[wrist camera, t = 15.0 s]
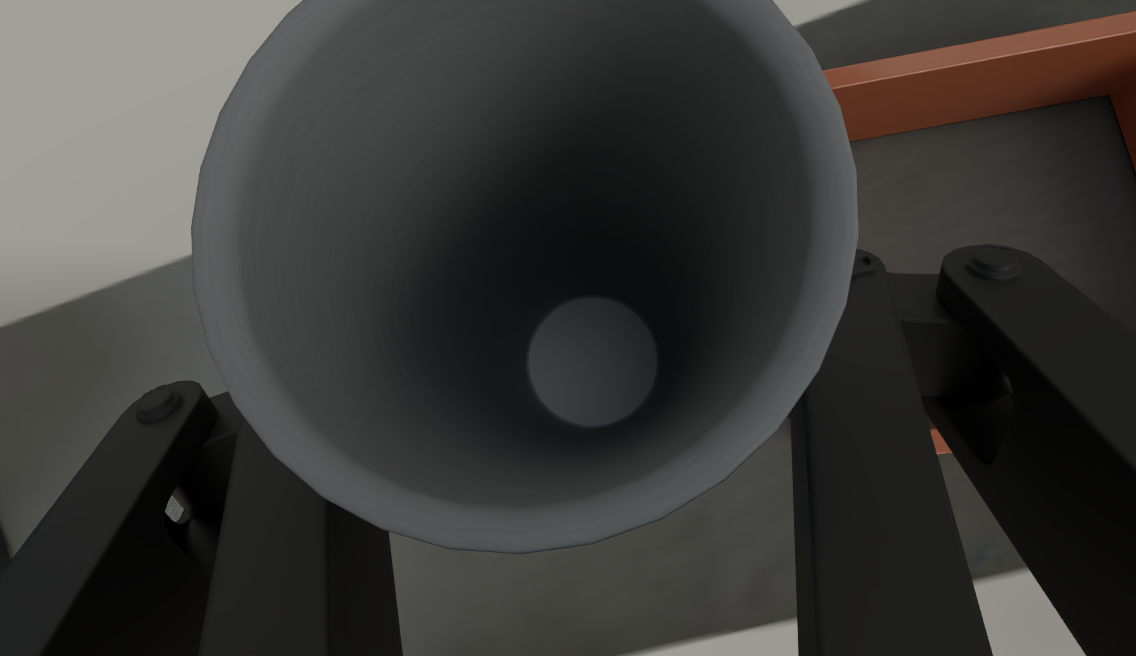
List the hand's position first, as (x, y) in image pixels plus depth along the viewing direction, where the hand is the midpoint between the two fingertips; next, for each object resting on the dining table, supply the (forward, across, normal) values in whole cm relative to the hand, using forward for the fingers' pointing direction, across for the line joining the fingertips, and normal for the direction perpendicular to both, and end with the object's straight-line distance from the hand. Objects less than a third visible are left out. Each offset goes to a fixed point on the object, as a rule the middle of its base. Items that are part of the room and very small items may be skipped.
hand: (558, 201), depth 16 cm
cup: (+2, 0, -7) cm, 7 cm away
